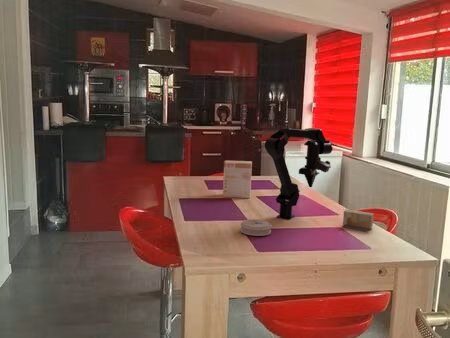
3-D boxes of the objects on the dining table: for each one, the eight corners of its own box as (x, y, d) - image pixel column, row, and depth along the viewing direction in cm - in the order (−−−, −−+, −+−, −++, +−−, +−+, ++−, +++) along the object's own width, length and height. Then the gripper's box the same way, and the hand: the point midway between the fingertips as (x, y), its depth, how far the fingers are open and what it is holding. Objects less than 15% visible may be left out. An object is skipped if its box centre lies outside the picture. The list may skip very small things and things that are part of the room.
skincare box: (343, 211, 200) (371, 215, 194) (346, 208, 203) (373, 212, 198) (342, 225, 201) (370, 229, 195) (345, 222, 205) (372, 226, 199)
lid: (252, 226, 194) (252, 215, 193) (276, 233, 186) (277, 221, 185) (234, 233, 184) (234, 221, 184) (259, 240, 177) (260, 227, 176)
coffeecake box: (250, 195, 252) (252, 161, 249) (249, 198, 245) (251, 163, 242) (223, 194, 253) (225, 159, 250) (222, 196, 246) (223, 161, 243)
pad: (366, 231, 193) (366, 230, 193) (343, 227, 198) (343, 226, 198) (371, 226, 201) (372, 225, 201) (349, 222, 206) (349, 221, 206)
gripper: (322, 158, 203) (320, 192, 205) (335, 154, 218) (333, 186, 221) (299, 156, 208) (297, 189, 211) (313, 152, 224) (311, 183, 227)
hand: (310, 187), depth 217 cm, fingers closed
